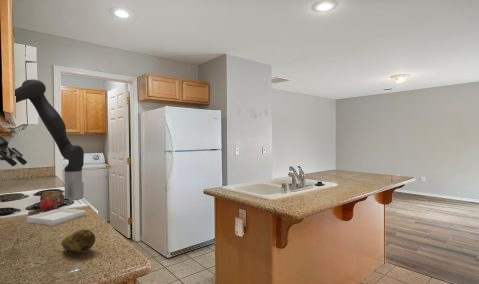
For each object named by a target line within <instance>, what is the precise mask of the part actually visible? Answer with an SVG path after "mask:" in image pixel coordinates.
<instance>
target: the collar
mask: <svg viewBox="0 0 479 284" xmlns="http://www.w3.org/2000/svg"><path fill="white" fill-rule="evenodd" d="M59 208H60V207H59V206H58V207H53V209H52V210H56V209H59ZM52 210H51V211H52ZM40 213H44V212H43V211H42V210H41V209H40V208H39V209H34V210H30V211H28V212H27V216H32V215H36V214H40Z"/></svg>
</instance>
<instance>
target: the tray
mask: <svg viewBox="0 0 479 284" xmlns="http://www.w3.org/2000/svg"><path fill="white" fill-rule="evenodd" d="M58 208H59V209H56V210H51V211H48V212H39V213H40V214H36V215H27V216H26V223H27V224H33V225H34V224H35V225H41V226H49V227H56V226H58V225H62V224H65V223H67V222H71V221H74V220H76V219H77V220H78V219H80V218H83V217H86V216H87V211H86V210H82V209H74V208H65V207H58Z"/></svg>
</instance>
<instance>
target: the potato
mask: <svg viewBox="0 0 479 284" xmlns="http://www.w3.org/2000/svg"><path fill="white" fill-rule="evenodd" d="M95 243H96V236H95V234H94V232H93V231H91V230H90V229H80V230H76V231H74V232H72V233H71V234H69V235H68V236H65V237H64V238H63V240H62V242H61V245H62V248H63V249H64V250H66V251H70V252H73V253H84V252H86V251H90V249H91V248H92V247H93V246H94V245H95Z"/></svg>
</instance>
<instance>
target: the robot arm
mask: <svg viewBox="0 0 479 284" xmlns="http://www.w3.org/2000/svg"><path fill="white" fill-rule="evenodd" d="M14 89H15V96H16V103H19V102H22V101H25V100H29V101H30V103H32V104H31V105H33V107H34V108H35V110H36V113H37V114H38V116H39V119H40V120H41V122H42V123H43V125H44V126H45V128H46V129H47V131H48V132H49V134H50V136H51V137H52V139H53V141H54V142H55V144H56V146H57V148H58V150H59V152H60V154H61V156H62V157H63V159H64V160H67V161H68V163H67V165H66V166H65V167H64V170H63V172H64V174H63V175H64V200H65V199H69V200H68V201H75V200H77V201H78V200H80V199H83V198H84V193H85V192H84V182H83V167H84V162H85V161H84V159H85V154H84V149H83V147H82V146H80V145H75V144H74V145H73V143H71V141H70V140H69V138H68V136H67V126H66V124H65V121H64V120H63V118H62V117H61V114H60V113H59V112H58V111H57V109H55V107H53V106H52V104H51V103H50V102H49V100H48V99H47V97H46V95H45V93H46V90H47V88H46V85H45V83H44V82H43V81H41V80H38V79H26V80H24V81H23V82H22V84H21V86H19V87H16V88H14ZM16 103H15V104H16ZM8 145H9V141H7V140H6V139H5V138H4V137H3V136H2V135H1V134H0V161H1V162H2V161H4V162H6V163H8V165H10V166H11V167H15V166H16V165H18V163H20V164H21V165H23V166H25V165H26V164H27V163H28V161H27V160H26V159H24V158H23V156H24V154H23V153H21V152H20V151H19V150H18V149H16V148H15V147H9V146H8ZM15 160H17V161H18V163H17V161H15Z"/></svg>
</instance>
